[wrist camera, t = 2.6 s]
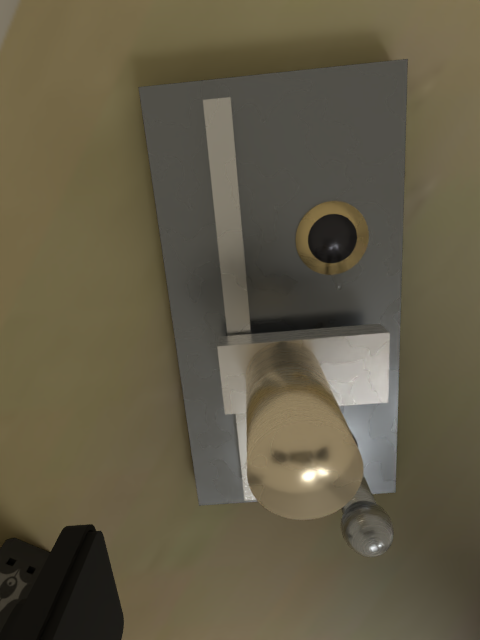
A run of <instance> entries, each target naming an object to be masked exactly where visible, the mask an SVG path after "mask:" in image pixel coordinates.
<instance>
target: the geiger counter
mask: <svg viewBox="0 0 480 640" xmlns="http://www.w3.org/2000/svg"><path fill="white" fill-rule="evenodd" d="M49 554H50V553H49V552H47V551H45V550H42V549H40V548H37V547H35V546H33V545H30V544H28V543H26V542H23V541H21V540H18V539H16V538H13V539H8V540H6V541H5V543H4V544H3V545H2V547H1V548H0V632H1V630H2V628H3V627H4V625H5V623H6V621H7V619H8V617H9V615H10V614H11V612H12V610H13V609H14V607H15V606H16V604H17V603H18V602H19V601H20V600H22V599H23V598H26V597H28V595H29V593H30V591H31V589H32V587H33V585H34V583H35V581H36V580H37V578H38V576H39V574H40V572H41V570H42V568H43V566H44V564H45V562H46V560H47V558H48V556H49Z"/></svg>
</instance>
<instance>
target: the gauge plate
mask: <svg viewBox="0 0 480 640" xmlns="http://www.w3.org/2000/svg"><path fill="white" fill-rule="evenodd" d="M407 68H408V59H403V60H394V61H384V62H374V63H365V64H355V65H346V66H336V67H327V68H317V69H308V70H298V71H288V72H279V73H269V74H260V75H250V76H241V77H231V78H221V79H212V80H202V81H193V82H183V83H174V84H164V85H155V86H145V87H139V94H140V101H141V108H142V114H143V121H144V128H145V135H146V142H147V149H148V156H149V163H150V170H151V177H152V183H153V190H154V197H155V204H156V211H157V218H158V225H159V232H160V239H161V246H162V253H163V259H164V266H165V273H166V280H167V287H168V294H169V301H170V308H171V315H172V322H173V328H174V335H175V342H176V349H177V356H178V363H179V370H180V377H181V384H182V391H183V397H184V404H185V411H186V418H187V425H188V432H189V439H190V446H191V453H192V460H193V467H194V473H195V480H196V487H197V494H198V501H199V505H213V504H228V503H244V502H258V501H257V500H256V498H255V497H254V495H253V494H252V492H251V490H250V487H249V484H248V480H247V434H246V413H240V414H226V415H225V411H224V402H223V393H222V384H221V376H220V367H219V358H218V349H217V345H218V340H219V337H221V336H233V335H245V334H258V333H270V332H282V331H295V330H307V329H319V328H331V327H344V326H356V325H368V324H381V325H382V326H383V327H384V328H385V329H386V330H387V331H389V332H390V345H389V395H388V403H374V404H361V405H347V406H339V408H340V410H341V412H342V414H343V416H344V419H345V421H346V423H347V425H348V427H349V429H350V432H351V434H352V436H353V438H354V440H355V442H356V445H357V447H358V449H359V451H360V454H361V456H362V460H363V477H362V482H361V484H360V487H359V489H358V491H357V492H356V494H355V495H354V497H353V498H352V499H351V500H350V501H349V502H348V503H347V504H346V505H345V506H344V507H342V508H341V509H342V512H343V516H342V519H341V530H342V534H343V537H344V539H345V541H346V543H347V544H348V546H349V547H350V548H351V549H352V550H353V551H355V552H356V553H358V554H360V555H362V556H366V557H376V556H379V555H381V554H383V553H385V552H386V551H387V550H388V549H389V547H390V546H391V543H392V541H393V535H394V531H393V525H392V522H391V519H390V517H389V516H388V514H387V513H386V511H385V510H384V509H383V508H382V507H380V506H379V505H377V504H376V502H375V500H374V497H373V495H372V494H379V493H394V492H396V458H397V423H398V387H399V352H400V316H401V281H402V245H403V210H404V174H405V139H406V103H407Z"/></svg>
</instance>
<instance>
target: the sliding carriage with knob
mask: <svg viewBox="0 0 480 640" xmlns="http://www.w3.org/2000/svg"><path fill="white" fill-rule="evenodd" d="M389 345H390V332H389V331H387V330H386V329H385V328H384V327H383V326H382V325H381V324H368V325H356V326H344V327H331V328H319V329H307V330H295V331H282V332H270V333H258V334H245V335H233V336H221V337H219V340H218V345H217V349H218V358H219V367H220V376H221V384H222V393H223V402H224V411H225V415H226V414H240V413H246V434H247V480H248V484H249V487H250V490H251V492H252V494H253V495H254V497H255V498H256V500H257V501H258V502H259V503H260V504H261V505H262V506H263V507H265V508H266V509H267V510H269V511H270V512H272V513H274V514H276V515H278V516H281V517H284V518H289V519H294V520H311V519H317V518H322V517H325V516H328V515H330V514H332V513H334V512H336V511H338V510H339V509H341V508H342V507H344V506H345V505H346V504H347V503H348V502H349V501H350V500H351V499H352V498H353V497H354V495H355V494H356V492H357V491H358V489H359V487H360V484H361V482H362V477H363V460H362V456H361V454H360V451H359V449H358V447H357V445H356V442H355V440H354V438H353V436H352V434H351V432H350V429H349V427H348V425H347V423H346V421H345V419H344V416H343V414H342V412H341V410H340V408H339V406H347V405H361V404H374V403H388V395H389Z"/></svg>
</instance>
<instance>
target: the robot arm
mask: <svg viewBox="0 0 480 640" xmlns="http://www.w3.org/2000/svg"><path fill="white" fill-rule="evenodd" d="M123 626H124V618H123V612H122V608H121V604H120V600H119V596H118V592H117V588H116V584H115V580H114V576H113V572H112V568H111V564H110V560H109V556H108V552H107V548H106V544H105V540H104V536H103V533H102V532H101V531H96V530H95V527H94V526H93V525H92V524H91V525H77V526H66V527H65V528H64V529H63V530H62V532H61V533H60V535H59V537H58V539H57V541H56V543H55V545H54V547H53V549H52V551H51V553H50V554H49V556H48V558H47V560H46V562H45V564H44V566H43V568H42V570H41V572H40V574H39V576H38V578H37V580H36V581H35V583H34V585H33V587H32V589H31V591H30V593H29V595H28V597H26V598H23V599H22V600H20V601H19V602H18V603H17V604H16V606H15V607H14V609H13V610H12V612H11V614H10V615H9V617H8V619H7V621H6V623H5V625H4V627H3V628H2V630H1V632H0V640H121V638H122V634H123Z"/></svg>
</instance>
